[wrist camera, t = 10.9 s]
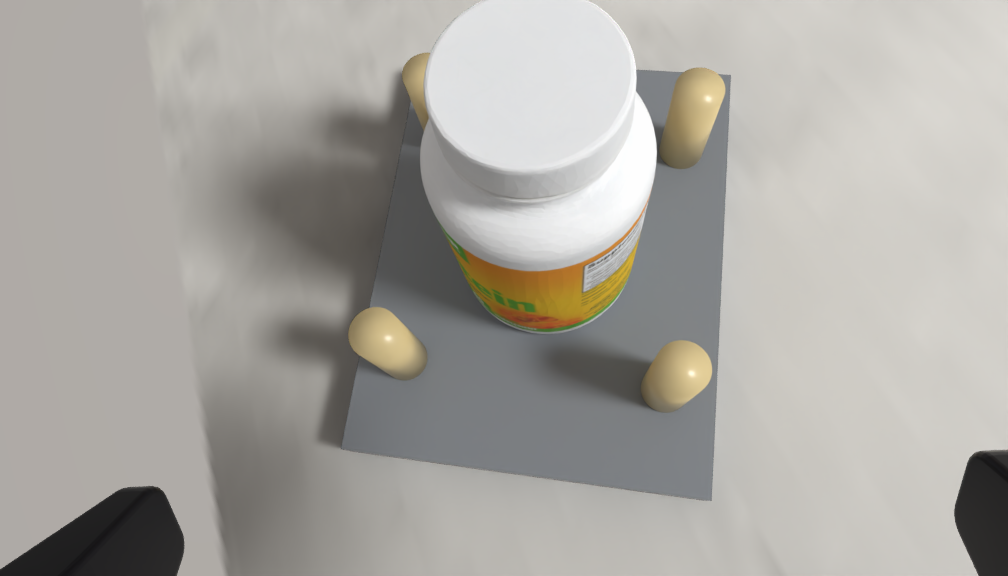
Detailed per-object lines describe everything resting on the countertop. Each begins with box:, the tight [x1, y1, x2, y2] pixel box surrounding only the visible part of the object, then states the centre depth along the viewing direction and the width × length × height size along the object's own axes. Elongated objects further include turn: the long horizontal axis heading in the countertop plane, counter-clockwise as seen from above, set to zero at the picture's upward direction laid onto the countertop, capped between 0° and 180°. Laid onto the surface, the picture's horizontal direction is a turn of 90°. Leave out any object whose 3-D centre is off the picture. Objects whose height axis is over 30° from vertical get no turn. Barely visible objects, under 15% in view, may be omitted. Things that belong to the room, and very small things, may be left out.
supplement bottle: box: [420, 0, 657, 334], centre depth 17 cm, size 5×5×10 cm
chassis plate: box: [341, 53, 731, 501], centre depth 20 cm, size 14×11×5 cm
